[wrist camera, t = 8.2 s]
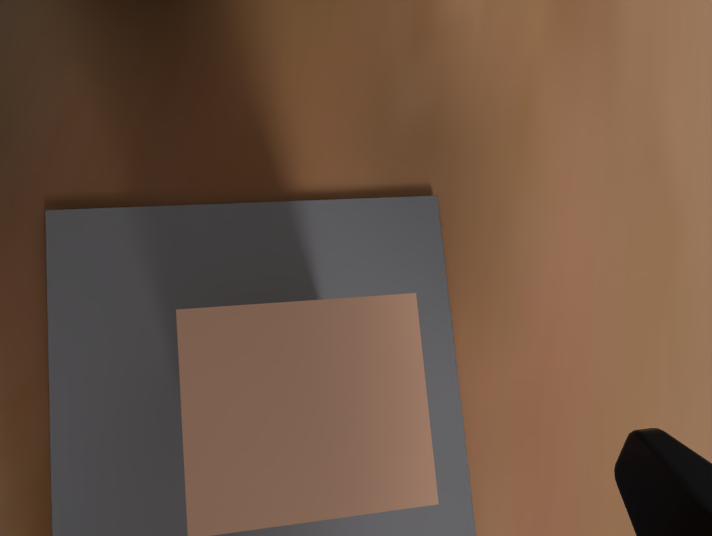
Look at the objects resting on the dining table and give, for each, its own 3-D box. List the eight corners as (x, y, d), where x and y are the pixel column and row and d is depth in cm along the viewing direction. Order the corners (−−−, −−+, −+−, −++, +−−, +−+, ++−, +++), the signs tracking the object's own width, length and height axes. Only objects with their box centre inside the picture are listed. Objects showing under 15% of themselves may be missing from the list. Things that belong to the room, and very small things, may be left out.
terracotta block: (338, 452, 20) (438, 504, 11) (201, 468, 20) (187, 539, 10) (328, 335, 21) (415, 293, 12) (194, 345, 20) (175, 309, 11)
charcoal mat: (477, 578, 21) (481, 581, 21) (57, 647, 18) (54, 651, 18) (434, 198, 23) (437, 195, 22) (47, 212, 20) (45, 210, 20)
